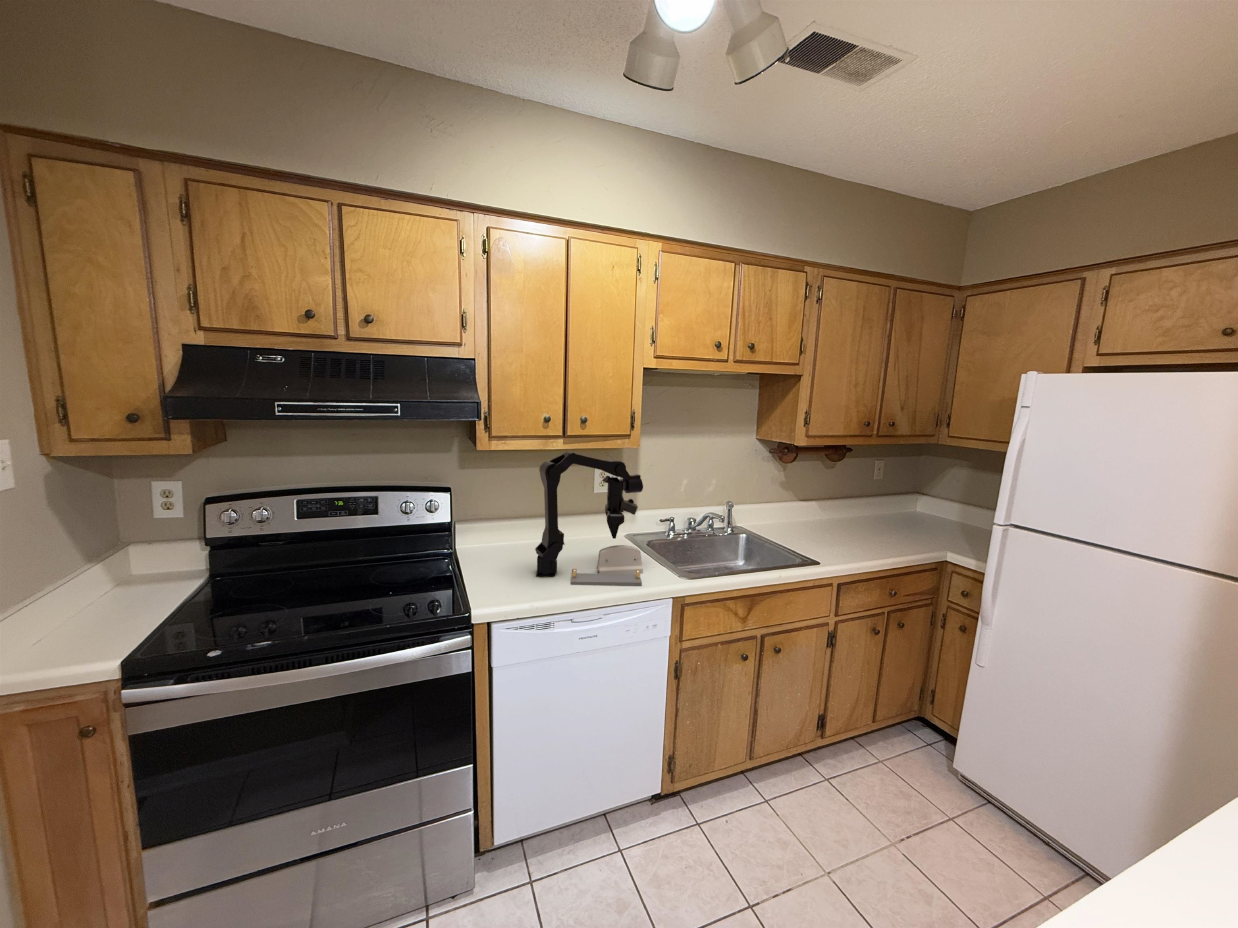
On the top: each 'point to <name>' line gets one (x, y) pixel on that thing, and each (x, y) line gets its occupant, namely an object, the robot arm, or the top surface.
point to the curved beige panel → (619, 560)
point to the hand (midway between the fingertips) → (613, 534)
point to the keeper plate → (606, 579)
